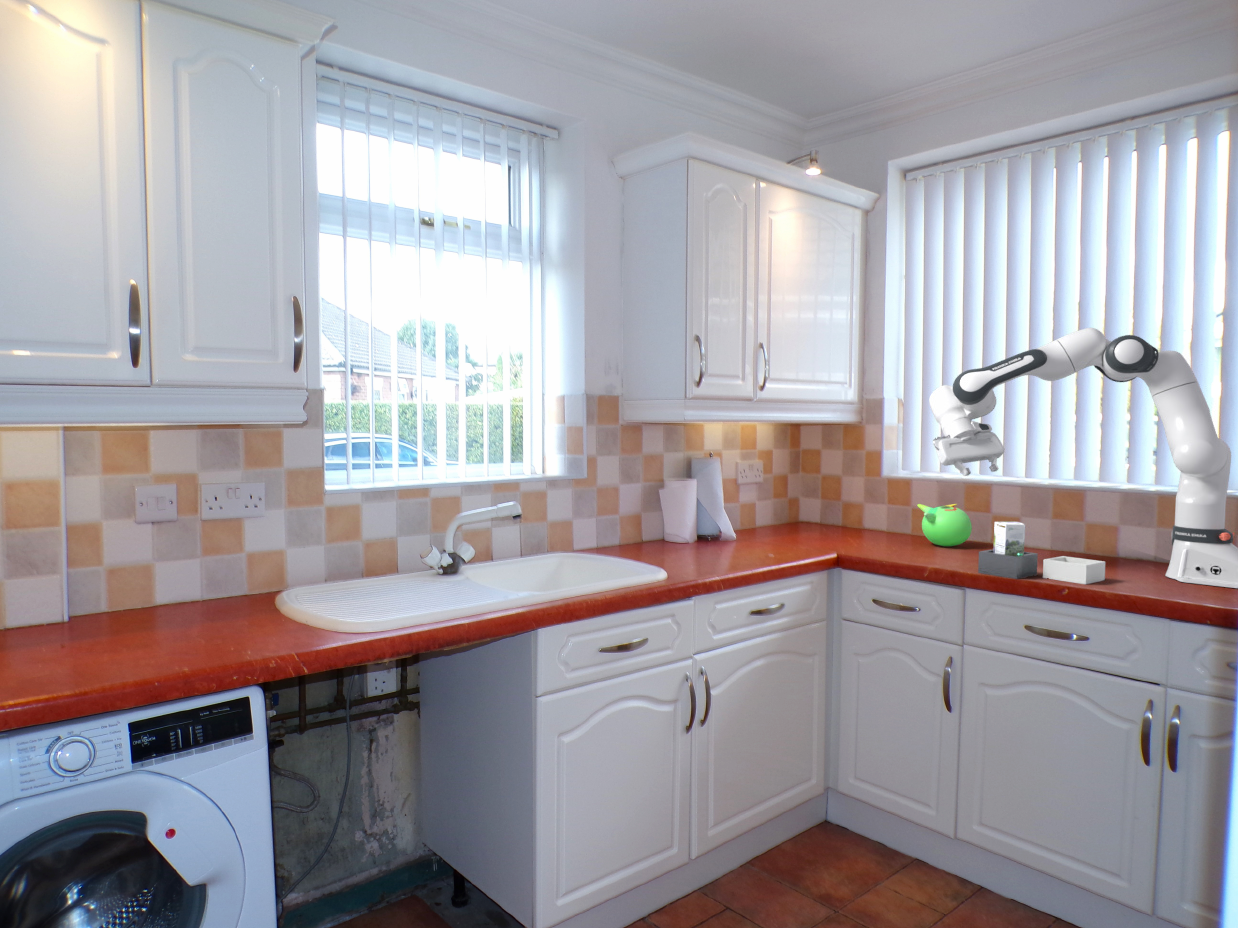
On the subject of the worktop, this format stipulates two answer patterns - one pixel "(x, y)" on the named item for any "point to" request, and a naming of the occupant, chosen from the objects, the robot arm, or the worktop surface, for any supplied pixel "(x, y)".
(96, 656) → the worktop surface
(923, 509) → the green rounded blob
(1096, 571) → the white storage tray
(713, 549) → the worktop surface
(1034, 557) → the gray storage box
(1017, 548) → the syrup box
